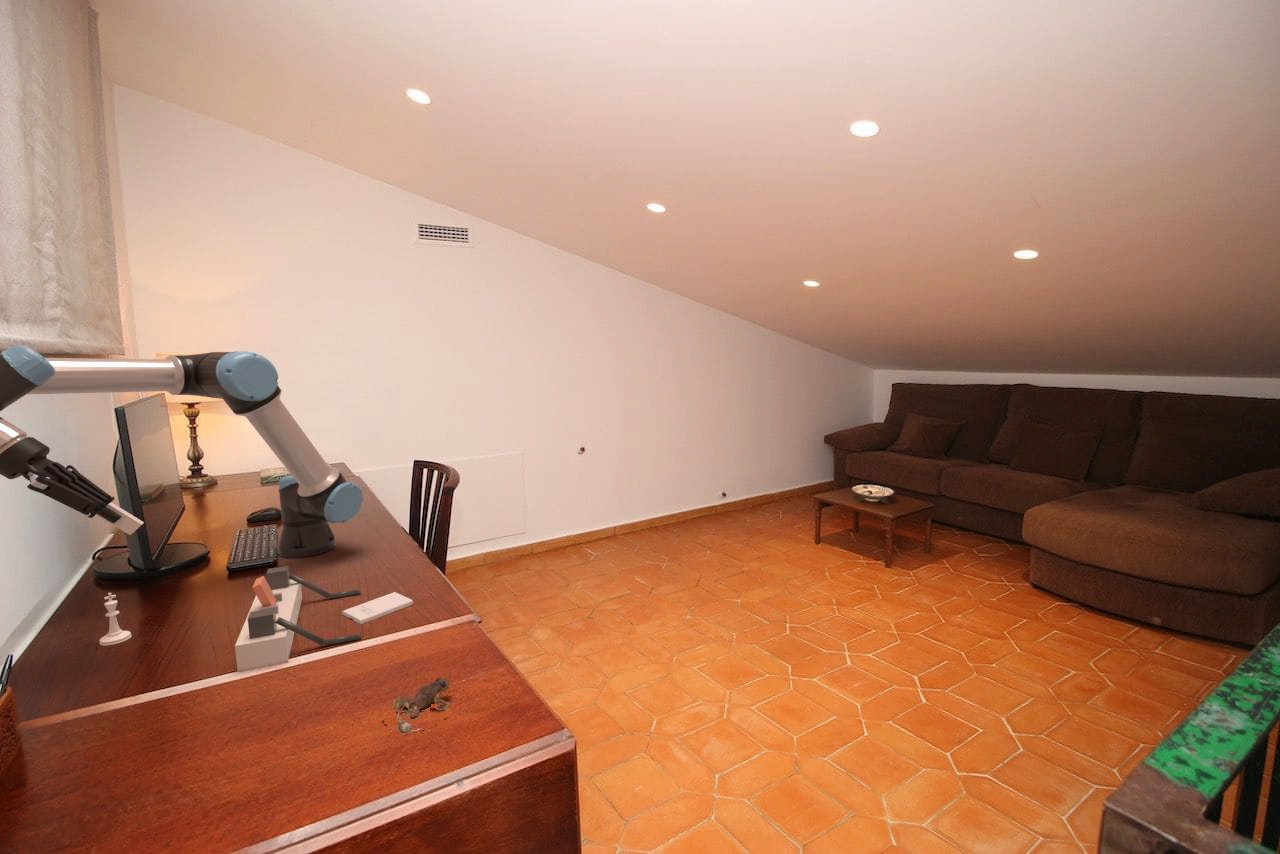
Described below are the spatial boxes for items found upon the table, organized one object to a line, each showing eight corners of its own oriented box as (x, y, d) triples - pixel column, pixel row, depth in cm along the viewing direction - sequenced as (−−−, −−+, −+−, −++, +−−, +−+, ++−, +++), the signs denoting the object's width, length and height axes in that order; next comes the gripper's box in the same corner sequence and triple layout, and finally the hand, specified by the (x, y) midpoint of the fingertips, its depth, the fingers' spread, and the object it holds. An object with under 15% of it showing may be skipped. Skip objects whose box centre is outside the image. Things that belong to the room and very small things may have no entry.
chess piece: (98, 640, 119) (92, 593, 118) (129, 631, 122) (124, 586, 121) (100, 648, 116) (94, 600, 114) (133, 639, 119) (127, 592, 118)
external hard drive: (413, 606, 135) (360, 626, 125) (394, 597, 140) (342, 616, 130) (413, 600, 135) (360, 619, 125) (394, 591, 140) (341, 609, 130)
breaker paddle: (265, 612, 119) (252, 587, 118) (268, 603, 124) (256, 579, 122) (273, 608, 120) (260, 584, 118) (276, 599, 124) (263, 575, 123)
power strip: (237, 671, 107) (232, 625, 105) (262, 604, 135) (259, 567, 134) (361, 646, 115) (358, 603, 114) (360, 588, 144) (358, 553, 143)
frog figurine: (432, 683, 103) (431, 663, 103) (471, 709, 96) (470, 687, 95) (368, 714, 94) (366, 692, 94) (406, 745, 87) (404, 721, 86)
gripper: (10, 460, 109) (133, 534, 118) (-32, 472, 97) (108, 554, 107) (44, 431, 111) (163, 506, 120) (7, 439, 99) (141, 522, 108)
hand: (137, 528), depth 113 cm, fingers closed
